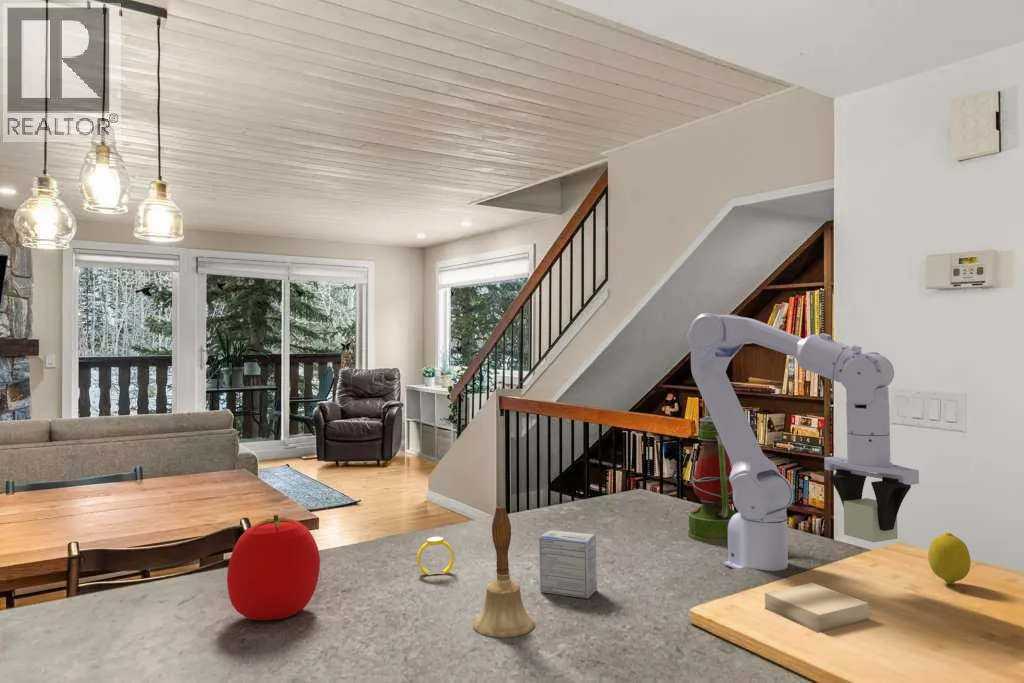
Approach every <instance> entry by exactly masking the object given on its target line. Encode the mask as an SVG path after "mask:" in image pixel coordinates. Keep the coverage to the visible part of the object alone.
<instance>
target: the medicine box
mask: <svg viewBox="0 0 1024 683" xmlns="http://www.w3.org/2000/svg"><path fill="white" fill-rule="evenodd" d="M596 537H597V536H596V535H595V534H592V533H582V532H572V531H561V530H552V529H551V530H548V531H546V532H545V533H543V534H542V535H540V536H539V538H538V547H539V548H538V550H539V551H538V552H539V554H538V555H539V557H538V558H539V559H538V560H539V592H540V593H546V594H552V595H558V596H559V595H560V596H567V597H573V598H580V599H589V598H590V597H591V596H592V595H593V594H594V593H595V592H596V591H597V590H598V578H597V576H598V575H597V544H596V543H597V538H596Z"/></svg>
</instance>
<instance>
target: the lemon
mask: <svg viewBox="0 0 1024 683" xmlns="http://www.w3.org/2000/svg"><path fill="white" fill-rule="evenodd" d="M970 555H971V554H970V552H969V549H968V547H967V545H966V543H965V542H964V541H963V540H962V539H961V538H959V537H958V536H955V535H953V534H952V533H951V532H945V533H944V534H941V535H938V536H936V537H934V538H933V540H932V541H931V542H930V545H929V548H928V556H927V557H928V564H929V566H930V568H931V570H932V572H933V573H934V574H935V575H936V576H937V577H938V578H940V579H942V580H943V581H944V582H945V583H946V584H948V585H954V584H955V583H956V582H958V581H962V580H963V579H964V578H966V577H967V576H968V574H969V572H970V569H971V565H972V564H971V556H970Z"/></svg>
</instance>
